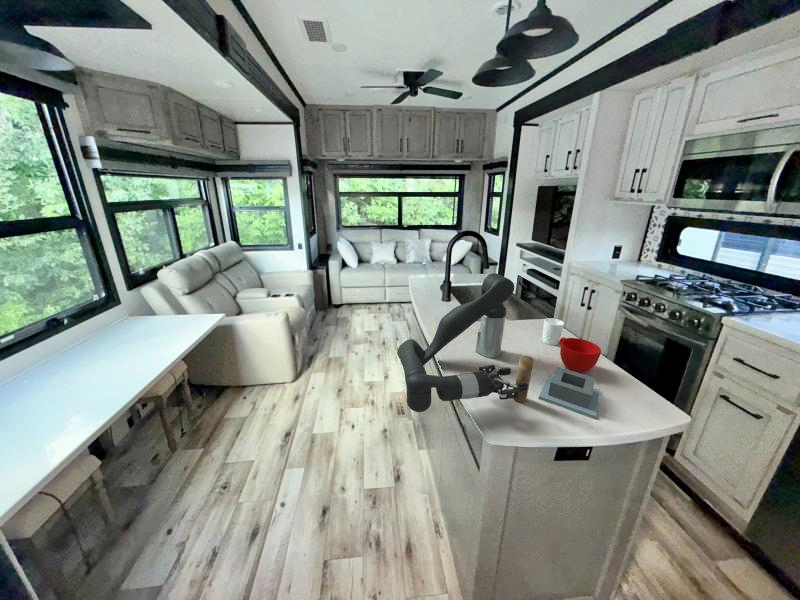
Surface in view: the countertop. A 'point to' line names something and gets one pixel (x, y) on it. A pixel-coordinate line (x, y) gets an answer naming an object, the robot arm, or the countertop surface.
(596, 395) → the socket block
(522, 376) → the wooden cylinder
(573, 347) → the ceramic cup
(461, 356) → the countertop surface
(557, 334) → the white cup
